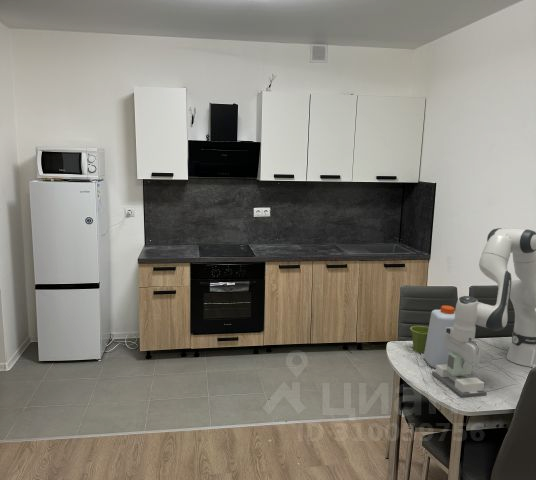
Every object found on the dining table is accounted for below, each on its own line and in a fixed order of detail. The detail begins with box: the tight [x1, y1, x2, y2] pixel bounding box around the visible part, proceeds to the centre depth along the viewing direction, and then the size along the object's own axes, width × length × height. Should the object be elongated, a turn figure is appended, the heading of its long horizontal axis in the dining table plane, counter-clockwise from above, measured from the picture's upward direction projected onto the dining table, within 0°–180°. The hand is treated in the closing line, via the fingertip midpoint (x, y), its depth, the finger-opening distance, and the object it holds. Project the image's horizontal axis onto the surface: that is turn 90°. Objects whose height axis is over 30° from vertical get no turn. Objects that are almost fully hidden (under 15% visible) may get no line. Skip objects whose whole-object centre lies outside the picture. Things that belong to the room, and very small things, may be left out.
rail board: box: [431, 364, 488, 399], centre depth 204 cm, size 12×21×5 cm, turn 14°
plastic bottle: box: [423, 305, 456, 369], centre depth 224 cm, size 15×15×28 cm
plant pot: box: [409, 325, 429, 354], centre depth 240 cm, size 12×12×11 cm
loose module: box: [447, 353, 474, 375], centre depth 203 cm, size 9×4×8 cm, turn 104°
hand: (459, 365), depth 203 cm, fingers closed on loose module, 4 cm apart
